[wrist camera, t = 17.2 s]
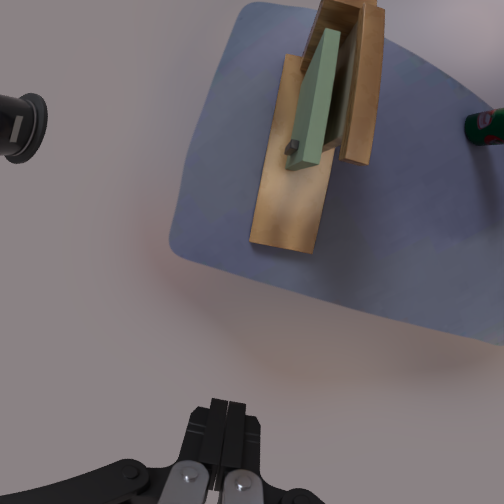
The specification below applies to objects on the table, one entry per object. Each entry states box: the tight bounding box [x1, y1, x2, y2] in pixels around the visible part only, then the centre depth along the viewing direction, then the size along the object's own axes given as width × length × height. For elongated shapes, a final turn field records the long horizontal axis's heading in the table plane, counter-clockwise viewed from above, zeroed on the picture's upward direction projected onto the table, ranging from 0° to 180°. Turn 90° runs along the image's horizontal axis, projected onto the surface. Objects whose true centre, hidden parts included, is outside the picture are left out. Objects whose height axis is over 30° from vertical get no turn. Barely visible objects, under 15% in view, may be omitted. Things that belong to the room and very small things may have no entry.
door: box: [284, 28, 341, 171], centre depth 24 cm, size 2×11×15 cm, turn 169°
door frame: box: [249, 0, 385, 254], centre depth 25 cm, size 8×25×19 cm, turn 169°
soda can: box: [465, 108, 504, 146], centre depth 26 cm, size 5×5×12 cm
